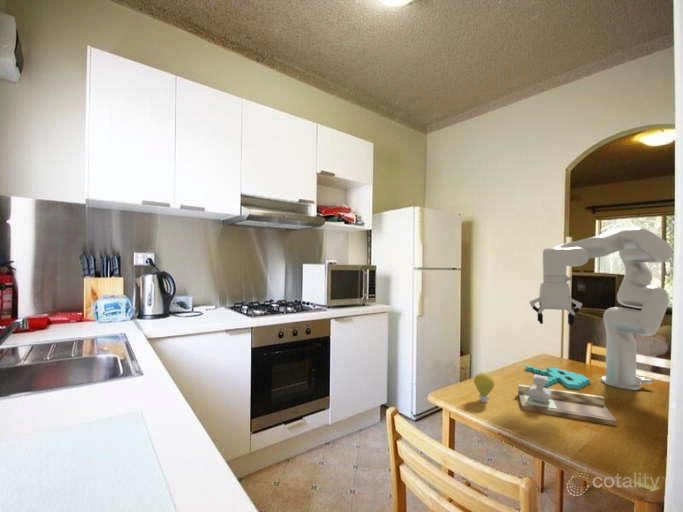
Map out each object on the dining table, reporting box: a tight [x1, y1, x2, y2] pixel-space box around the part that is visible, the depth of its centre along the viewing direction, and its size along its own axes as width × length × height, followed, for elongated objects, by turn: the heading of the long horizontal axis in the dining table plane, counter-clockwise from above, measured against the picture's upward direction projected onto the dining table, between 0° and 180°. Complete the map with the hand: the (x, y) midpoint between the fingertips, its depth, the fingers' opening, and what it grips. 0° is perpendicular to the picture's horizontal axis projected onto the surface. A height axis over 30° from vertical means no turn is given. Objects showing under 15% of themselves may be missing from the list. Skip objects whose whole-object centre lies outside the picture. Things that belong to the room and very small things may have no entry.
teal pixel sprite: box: [525, 365, 591, 390], centre depth 140 cm, size 20×2×20 cm
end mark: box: [523, 393, 557, 409], centre depth 116 cm, size 9×10×1 cm
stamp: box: [528, 373, 552, 403], centre depth 116 cm, size 9×7×8 cm
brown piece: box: [517, 383, 618, 427], centre depth 113 cm, size 26×13×4 cm, turn 67°
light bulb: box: [473, 372, 495, 403], centre depth 119 cm, size 7×7×10 cm
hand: (555, 324), depth 127 cm, fingers open, 9 cm apart
